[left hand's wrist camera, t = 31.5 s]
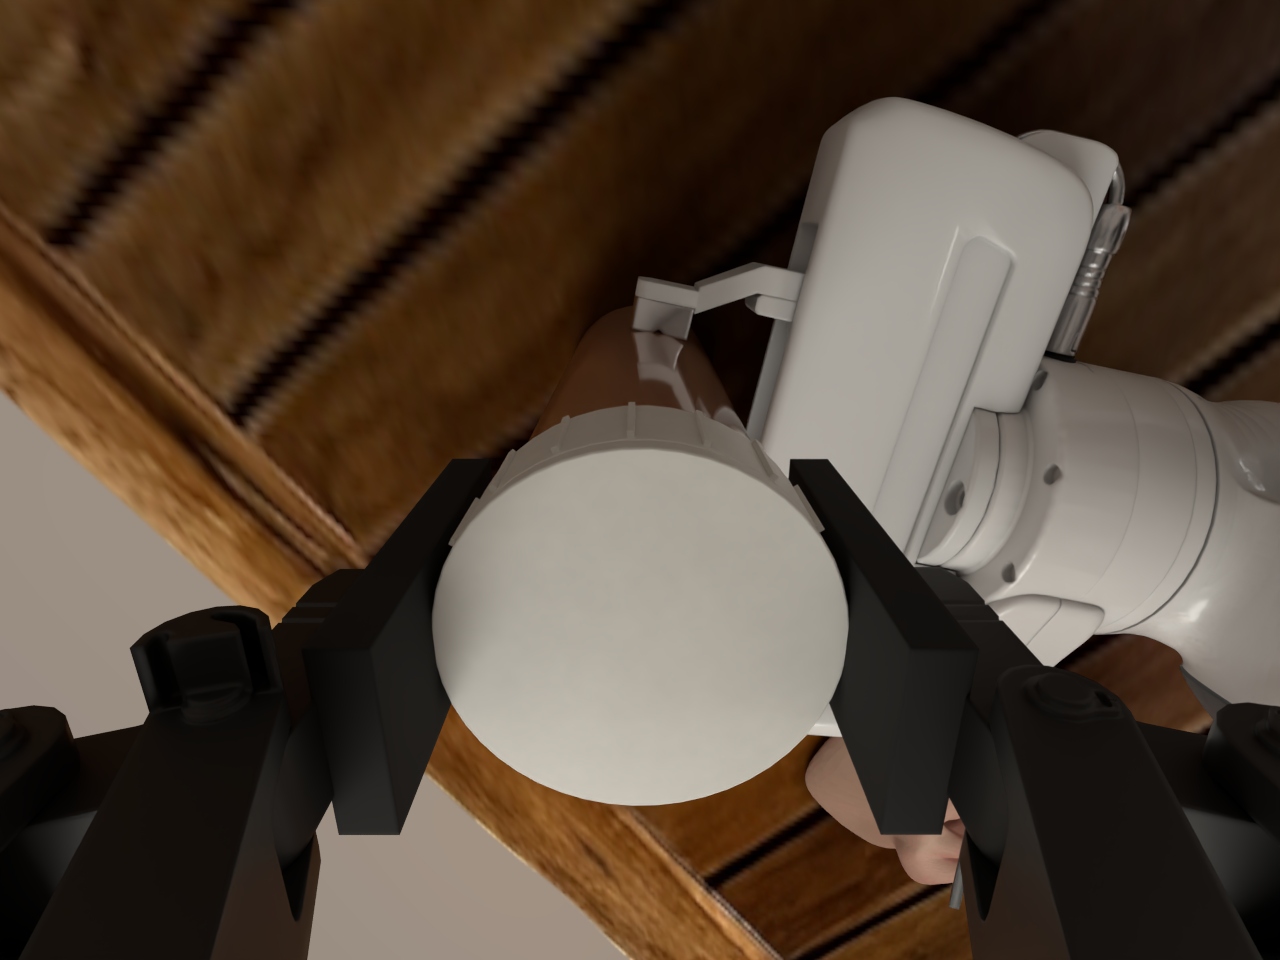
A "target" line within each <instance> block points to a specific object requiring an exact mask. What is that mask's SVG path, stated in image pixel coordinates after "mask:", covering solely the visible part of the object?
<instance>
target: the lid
mask: <svg viewBox="0 0 1280 960" xmlns="http://www.w3.org/2000/svg"><path fill="white" fill-rule="evenodd" d="M823 530H825V529H824V527H823V525H822V524H821V522H820V520H819V519H818V517H817V516H816V514H815V512H814V511H813V509H812V507H811V506H810V504H809V502H808V501H807V499H806V497H805V496H804V494H803V492H802V491H801V489H800V487H799V486H798V485H795V486H794V487H793V486H792V484H791V482H790V481H789V480H788V478H787V477H786V476H785V474H784V473H783V472H782V471H781V469H780V468H779V467H778V465H777V464H776V463H775V462H774V461H773V460H772V459H771V458H770V457H769V456H768V455H767V454H766V453H765V451H764V449H763V447H762V445H761V443H760V442H759V441H758V440H756V439H755V440H754V441H753V442H751V441H750V440H749V439H747V438H746V437H745V436H743V435H742V434H740V433H738V432H737V431H735V430H733V429H731V428H729V427H727V426H726V425H724V424H722V423H720V422H717V421H715V420H712V419H710V418H707V417H704V415H703V412H702V411H699V410H696V411H695V413H692V412H688V411H684V410H679V409H675V408H668V407H659V406H650V405H644V406H635V402H628V406H620V407H613V408H607V409H600V410H596V411H593V412H589V413H586V414H582V415H579V416H575V417H573V418H571V419H570V417H569V415H567V416H565V417H563V418H562V420H561V423H559V424H557V425H555V426H553V427H551V428H549V429H548V430H546V431H544V432H543V433H541V434H539V435H538V436H536V437H534V438H533V439H532V440H530V441H529V442H528V443H527V444H525V445H524V446H523V447H522V448H520V449H519V450H518V451H517V452H516V451H515V450H514V449H512V450H511V451H510V452H509V453H508V455H507V457H506V458H505V460H504V462H503V464H502V465H501V467H500V469H499V471H498V472H497V474H496V475H495V477H494V478H493V479H492V481H491V482H490V484H489V485H488V487H487V488H486V490H485V492H484V493H483V495H482V497H481V498H480V499H478V498H475V499H474V501H473V503H472V504H471V506H470V508H469V509H468V511H467V513H466V514H465V516H464V518H463V519H462V521H461V523H460V524H459V526H458V528H457V529H456V531H455V533H454V534H453V536H452V538H451V540H450V542H449V545H451V546H453V547H452V549H451V551H450V553H449V555H448V557H447V559H446V561H445V563H444V565H443V568H442V571H441V574H440V577H439V580H438V583H437V586H436V589H435V596H434V602H433V608H432V632H433V641H434V649H435V657H436V664H437V668H438V671H439V674H440V678H441V681H442V684H443V686H444V688H445V690H446V692H447V694H448V697H449V699H450V701H451V703H452V705H453V706H454V708H455V709H456V711H457V712H458V714H459V716H460V717H461V719H462V720H463V722H464V723H465V724H466V726H467V727H468V728H469V729H470V730H471V731H472V733H473V734H474V735H475V736H476V737H477V738H478V740H479V741H480V742H481V743H482V744H483V745H485V746H486V747H487V748H488V749H489V750H490V751H491V752H492V753H493V754H495V755H496V756H497V757H498V758H499V759H501V760H502V761H504V762H505V763H506V764H508V765H509V766H511V767H512V768H513V769H515V770H516V771H518V772H520V773H521V774H523V775H525V776H527V777H529V778H530V779H532V780H534V781H536V782H538V783H540V784H542V785H545V786H547V787H550V788H552V789H554V790H557V791H559V792H562V793H566V794H569V795H572V796H576V797H579V798H582V799H587V800H592V801H598V802H603V803H609V804H621V805H661V804H670V803H678V802H684V801H688V800H693V799H697V798H702V797H706V796H709V795H712V794H715V793H718V792H721V791H724V790H727V789H729V788H731V787H734V786H736V785H738V784H740V783H742V782H744V781H747V780H749V779H751V778H752V777H754V776H756V775H757V774H759V773H761V772H762V771H764V770H766V769H767V768H769V767H771V766H772V765H773V764H774V763H776V762H777V761H778V760H780V759H781V758H782V757H784V756H785V755H786V754H787V753H789V752H790V751H791V750H792V749H793V748H794V747H795V746H796V745H797V744H798V743H799V742H800V741H801V740H802V739H803V738H804V737H805V736H806V735H807V734H808V732H809V731H810V730H811V729H812V727H813V726H814V725H815V723H816V722H817V721H818V720H819V718H820V717H821V715H822V714H823V712H824V710H825V709H826V707H827V705H828V704H829V702H830V700H831V698H832V697H833V694H834V692H835V689H836V687H837V685H838V682H839V680H840V677H841V674H842V670H843V666H844V660H845V653H846V645H847V636H848V627H849V612H848V602H847V598H846V593H845V588H844V583H843V580H842V577H841V575H840V572H839V569H838V567H837V564H836V561H835V559H834V557H833V555H832V553H831V552H830V550H829V548H828V546H827V545H826V543H825V541H824V539H823V537H822V536H821V534H820V532H822V531H823Z"/></svg>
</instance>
